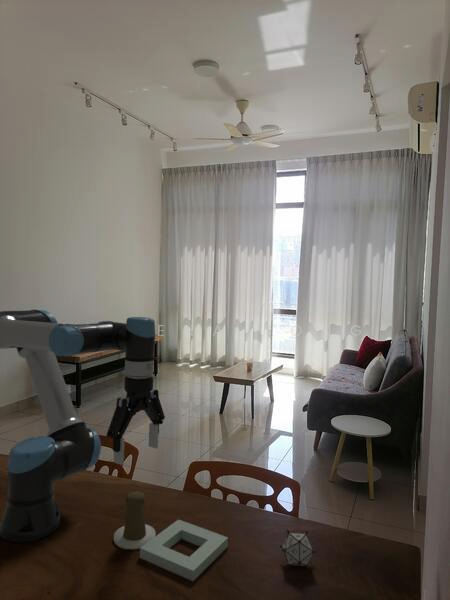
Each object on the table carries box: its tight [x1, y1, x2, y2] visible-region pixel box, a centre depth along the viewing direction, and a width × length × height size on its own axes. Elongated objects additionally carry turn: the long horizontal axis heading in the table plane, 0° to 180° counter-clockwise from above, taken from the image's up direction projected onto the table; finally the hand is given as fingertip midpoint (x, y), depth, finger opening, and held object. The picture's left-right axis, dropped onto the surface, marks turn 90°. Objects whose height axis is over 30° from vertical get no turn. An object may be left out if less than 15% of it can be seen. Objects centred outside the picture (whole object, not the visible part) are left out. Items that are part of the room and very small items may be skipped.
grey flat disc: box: [113, 523, 157, 551], centre depth 118 cm, size 11×11×1 cm
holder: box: [139, 519, 229, 582], centre depth 112 cm, size 16×16×2 cm
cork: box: [123, 491, 147, 541], centre depth 118 cm, size 6×6×11 cm
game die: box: [279, 529, 317, 570], centre depth 108 cm, size 9×8×10 cm
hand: (136, 454), depth 117 cm, fingers open, 13 cm apart
